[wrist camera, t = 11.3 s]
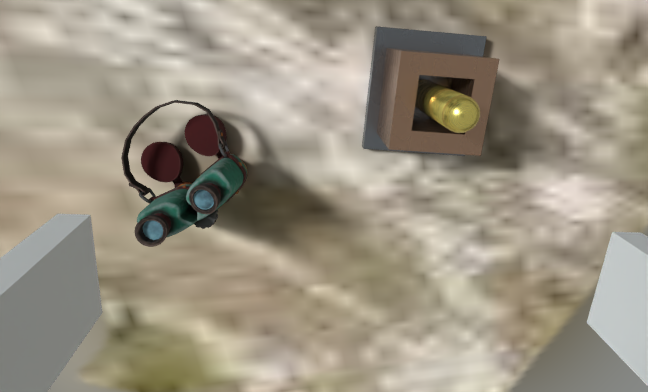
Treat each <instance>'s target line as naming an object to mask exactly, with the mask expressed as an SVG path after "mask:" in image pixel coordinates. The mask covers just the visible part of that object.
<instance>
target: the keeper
mask: <svg viewBox="0 0 648 392" xmlns="http://www.w3.org/2000/svg"><path fill="white" fill-rule="evenodd" d="M485 43H486V36H475V35H464V34H453V33H442V32H431V31H420V30H409V29H397V28H386V27H375V35H374V44H373V53H372V62H371V71H370V80H369V88H368V97H367V106H366V115H365V124H364V133H363V142H362V147H363V149H377V150H390V149H388V148H387V146H386V145H385V144H384V142H383V141H382V140H381V138H380V137H379V135H378V134H377V126H378V117H379V109H380V100H381V92H382V83H383V75H384V66H385V58H386V49H387V48H393V49H405V50H417V51H429V52H441V53H454V54H466V55H475V56H482V57H483V53H484V48H485ZM448 81H449V77H441V76H428V75H419V81H418V88H417V95H416V102H415V109H414V116H413V118H419V119H433V120H435V121H437V122H438V123H440V124H441V125H443V126H444V127H446V128H447V129H449V130H450V131H452V132H455V133H464V132H467V131H469V130H471V129H473V128H474V127H475V126H476V124H477V123H478V121H479V118H480V108H479V106H478V104H477V102H476V101H475V100H474V99H473V98H471V97H469V96H467V95H464V94H462V93H459V92H456V91H454V90H451V89H449V88H447V87H448ZM391 151H405V150H391ZM405 152H419V151H405ZM419 153H432V154H446V155H460V156H465V155H463V154H448V153H434V152H419Z"/></svg>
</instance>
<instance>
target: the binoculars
mask: <svg viewBox="0 0 648 392" xmlns="http://www.w3.org/2000/svg"><path fill="white" fill-rule="evenodd" d="M172 103H183V104H192V105H195V106H197V107H199V108H200V109H202V110H204V111H206V112H207V114H204V115H198V116H195V117H193V118H192V119H190V120H189V122H188V123H187V125H186V127H185V138H186V141H187V143H188V145H189V146H190V147H191V148H192V149H193V150H194V151H196V152H197V153H199V154H201V155H204V156H213V155H216V154H217V156H218V158H219V159H218V160H217V161H216V162H215V163H214V164H212V165H211V166H210V167H209V168H208V169H206V170H205V171H204V172H203V173H201V175H200V176H199V177H198V178H197V180H196V181H195V182H194V183H189V182H182V180H181V178H180V175H181V173H182V170H183V158H182V154H181V152H180V151H179V149H178V148H177V147H176V146H174V145H173V144H171V143H167V142H155V143H152V144H150V145H149V146H147V147H146V148H145V150H144V151H143V153H142V157H141V164H142V167H143V169H144V171H145V172H146V173H147V174H148V175H149V176H150V177H151V178H153V179H155V180H157V181H160V182H171V181H173V183H174V184H175V188H174V189H172V190H170V191H168V192H165V193H163V194H161V195H159V196H157V197H156V196H155V194H154V193H153V191H152V190H151V189H150V188H147V187H146V186H144V185H142V184H141V183H139V182H137V181H136V180H135V178H134V177H133V175H132V174H131V172H130V167H129V160H128V153H129V148H130V144H131V139H132V137H133V136H134V134H135V133H136V131H137V129H138V128H139V126H140V125H141V124H142V123H143V122H144V121H145V120H146V119H147V118H148V117H149V116H150V115H151V114H152V113H154V112H155V111H156V110H158V109H159V108H160V107H163V106H166V105H169V104H172ZM226 138H227V136H226V130H225V127H224V124H223V123H222V121H221V120H220V119H219V118H217V117H216V116H214V115H213V114H212V112H211V111H210V110H209V109H208V108H206V107H204V106H202V105H201V104H199V103H195V102H187V101H179V100H175V101H171V102H168V103H165V104H162V105H159V106H157V107H155V108H153V109H152V110H151V111H149V112H148V113H147V114H146V115H144V116H143V117H142V118H141V119H140V120H139V121H138V122H137V123H136V124H135V125H134V127H133V128H132V130H131V131H130V133H129V135H128V136H127V138H126V140H125V144H124V149H123V153H122V164H123V170H124V175H125V176H126V178H127V180H128V181H129V186H131V187H133V188H135V189H137V191H138V192H139V196H140V197H141V198H142V199H143V200H145V201H146V202H148V203H150V204H149V205H148V206H147V207H146V208H145V209H143V210H142V211H141V212H140V214H139V215H138V217H137V222H138V223H137V225H136V227H135V236H136V238H137V240H138V241H139V242H140V243H141V244H143V245H145V246H149V247H153V246H157V245H159V244H161V243H162V242H163V241H164V240H165V238H166V237H169V236H172V235H174V234H177V233H179V232H181V231H183V230H185V229H186V228H188V227H189V226H191V225H193V224H195V225H196V227H201V228H202V229H205V228H206V227H208V228H209V227H211V225H213V224H214V223H215V222H216V219H217V218H218V215H217V212H218V210H217V209H218V208H219V207H220V206H222V205H223V204H224V203H226V202H227V201H229V200H230V199H231V198H232V197H233V196H234V195H235V194H238V192H239V190H240V189H241V187H242V186H243V184H244V183H245V181H246V178H247V175H248V171H247V167H246V165H245V164H244V163H243V162H242V161H241V160H240V159H239V158H238V157H237V156H236V155H233V154H230V153H229V149H228V146H227V143H226ZM224 147H225V148H226V152H224V150H223V149H224ZM149 192H150V193H151V195H152V196H153V197H151V198H150V199H147V198H145V197H144V196H145V195H146V194H148V193H149Z"/></svg>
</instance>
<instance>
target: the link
mask: <svg viewBox="0 0 648 392" xmlns="http://www.w3.org/2000/svg"><path fill="white" fill-rule="evenodd" d="M498 64H499V59H496V58H489V57H482V56H475V55H466V54H454V53H441V52H429V51H417V50H405V49H393V48H387V49H386V58H385V66H384V75H383V83H382V92H381V100H380V109H379V117H378V126H377V134H378V135H379V137H380V138H381V140H382V141H383V142H384V144H385V145H386V146H387V148H388V149H390V150H405V151H419V152H434V153H448V154H463V155H478V156H481V152H482V147H483V141H484V136H485V131H486V126H487V121H488V116H489V110H490V105H491V100H492V95H493V90H494V84H495V79H496V74H497V69H498ZM419 75H428V76H441V77H449V81H448V87H447V88H449V89H451V90H454V91H456V92H459V93H462V94H464V95H467V96H469V97H471V98H473V99H474V100H475V101H476V102H477V104H478V106H479V108H480V118H479V121H478V123H477V124H476V126H475V127H474V128H473V129H471V130H469V131H467V132H464V133H455V132H452V131H450V130H449V129H447V128H446V127H444V126H443V125H441V124H440V123H438V122H437V121H435V120H433V119H419V118H413V116H414V109H415V102H416V95H417V88H418V81H419Z"/></svg>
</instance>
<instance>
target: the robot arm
mask: <svg viewBox="0 0 648 392" xmlns="http://www.w3.org/2000/svg"><path fill="white" fill-rule="evenodd" d="M101 314H102V306H101V298H100V290H99V281H98V273H97V265H96V256H95V248H94V240H93V232H92V223H91V215H81V214H57V215H55V216H54V217H53V218H52V219H50V220H49V221H48V222H46V223H45V224H44V225H43V226H41V227H40V228H39V229H37V230H36V231H35V232H33V233H32V234H31V235H30V236H28V237H27V238H26V239H24V240H23V241H22V242H21V243H19V244H18V245H17V246H15V247H14V248H13V249H11V250H10V251H9V252H8V253H6V254H5V255H4V256H2V257H1V258H0V392H47V391H48V390H49V389H50V387H51V386H52V384H53V383H54V382H55V380H56V379H57V377H58V376H59V374H60V373H61V371H62V370H63V369H64V367H65V366H66V364H67V363H68V361H69V360H70V358H71V357H72V356H73V354H74V353H75V351H76V350H77V348H78V347H79V345H80V344H81V343H82V341H83V340H84V338H85V337H86V335H87V334H88V333H89V331H90V330H91V328H92V327H93V325H94V324H95V322H96V321H97V319H98V318H99V317H100V315H101ZM587 323H588V324H589V325H590V326H591V328H592V329H593V330H594V331H595V332H596V333H597V334H598V335H599V336H600V337H601V338H602V339H603V340H604V341H605V342H606V343H607V344H608V345H609V346H610V347H611V348H612V349H613V350H614V351H615V352H616V353H617V355H618V356H619V357H620V358H621V359H622V360H623V361H624V362H625V363H626V364H627V365H628V366H629V367H630V368H631V369H632V370H633V371H634V372H635V373H636V374H637V375H638V376H639V377H640V378H641V380H643V382H644V383H645V384H646V385H647V386H648V237H647V236H645V235H644V234H642V233H634V232H612V235H611V239H610V242H609V246H608V249H607V253H606V256H605V260H604V263H603V267H602V270H601V274H600V277H599V281H598V285H597V288H596V292H595V295H594V299H593V302H592V306H591V309H590V313H589V316H588V320H587Z"/></svg>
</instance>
